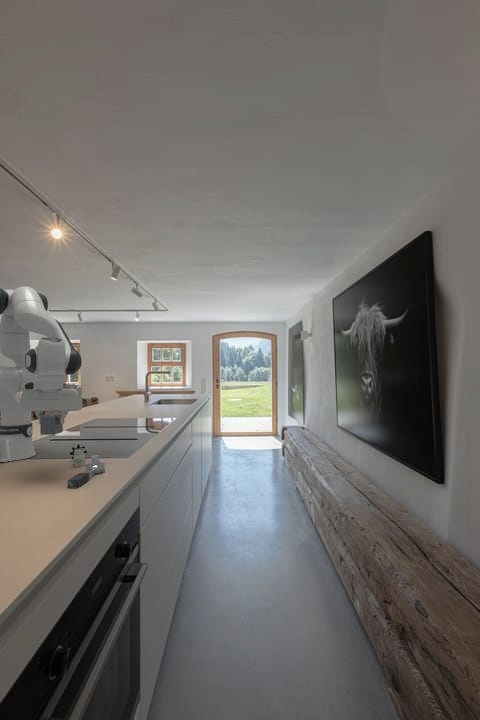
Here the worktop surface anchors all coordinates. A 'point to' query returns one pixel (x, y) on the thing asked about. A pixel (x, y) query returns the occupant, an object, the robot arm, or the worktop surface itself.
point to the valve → (78, 455)
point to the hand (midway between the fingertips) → (51, 424)
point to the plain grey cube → (50, 424)
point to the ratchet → (87, 473)
